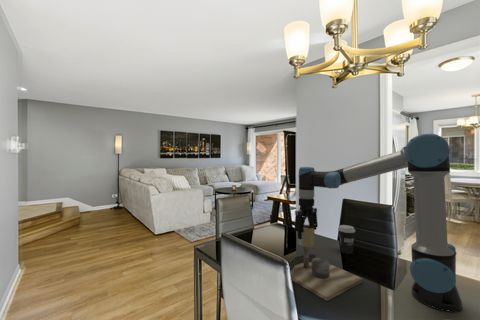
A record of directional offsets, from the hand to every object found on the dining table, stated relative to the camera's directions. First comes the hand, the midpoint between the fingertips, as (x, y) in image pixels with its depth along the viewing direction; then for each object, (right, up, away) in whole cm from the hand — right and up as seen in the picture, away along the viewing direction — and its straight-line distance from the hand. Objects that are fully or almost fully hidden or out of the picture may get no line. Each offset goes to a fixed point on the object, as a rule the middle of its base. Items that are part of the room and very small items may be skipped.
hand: (306, 243), depth 115 cm
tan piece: (0, -1, 0) cm, 1 cm away
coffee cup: (+31, -14, +23) cm, 41 cm away
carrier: (+5, -13, -7) cm, 16 cm away
